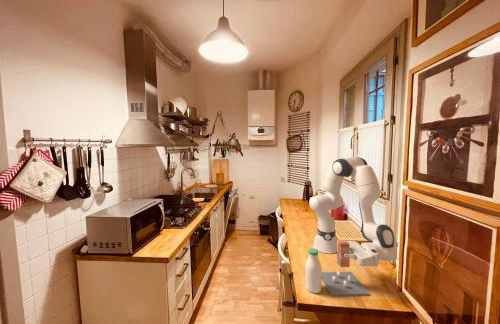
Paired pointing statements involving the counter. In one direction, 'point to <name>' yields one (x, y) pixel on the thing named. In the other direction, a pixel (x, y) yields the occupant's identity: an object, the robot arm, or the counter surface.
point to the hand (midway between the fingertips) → (341, 252)
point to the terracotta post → (342, 248)
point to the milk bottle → (313, 272)
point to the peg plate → (343, 284)
